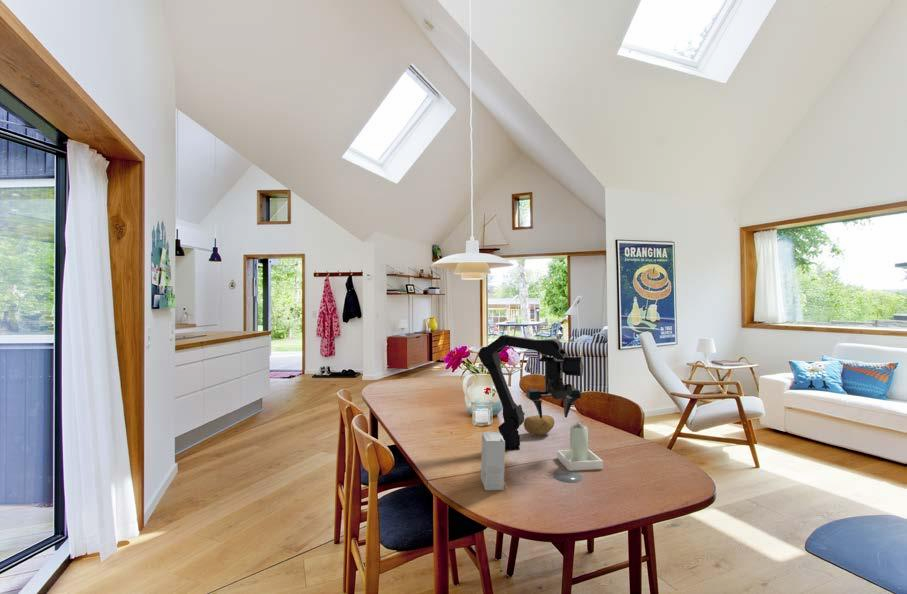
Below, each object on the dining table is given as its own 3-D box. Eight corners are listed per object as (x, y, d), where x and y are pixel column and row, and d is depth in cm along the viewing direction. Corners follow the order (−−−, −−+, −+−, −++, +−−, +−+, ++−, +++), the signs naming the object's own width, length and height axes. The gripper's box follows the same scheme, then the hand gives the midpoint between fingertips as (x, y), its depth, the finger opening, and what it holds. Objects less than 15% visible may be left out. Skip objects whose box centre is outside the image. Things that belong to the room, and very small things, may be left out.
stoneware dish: (569, 472, 143) (569, 462, 143) (557, 459, 154) (557, 450, 154) (603, 470, 144) (603, 460, 144) (588, 458, 155) (588, 449, 155)
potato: (560, 435, 182) (560, 416, 182) (532, 440, 176) (532, 420, 176) (546, 429, 191) (545, 410, 191) (518, 433, 184) (518, 414, 185)
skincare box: (480, 480, 137) (480, 431, 137) (499, 479, 138) (499, 431, 138) (485, 491, 129) (485, 440, 129) (505, 490, 129) (505, 439, 129)
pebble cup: (579, 467, 145) (579, 425, 145) (566, 462, 150) (566, 421, 150) (591, 464, 148) (591, 423, 148) (579, 459, 153) (578, 419, 153)
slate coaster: (558, 485, 133) (558, 483, 133) (548, 473, 142) (548, 471, 142) (587, 483, 134) (587, 481, 134) (576, 472, 143) (576, 470, 143)
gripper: (534, 378, 151) (534, 424, 151) (587, 377, 153) (587, 422, 153) (525, 373, 162) (525, 416, 162) (574, 372, 164) (575, 414, 164)
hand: (553, 417), depth 160 cm, fingers open, 9 cm apart
